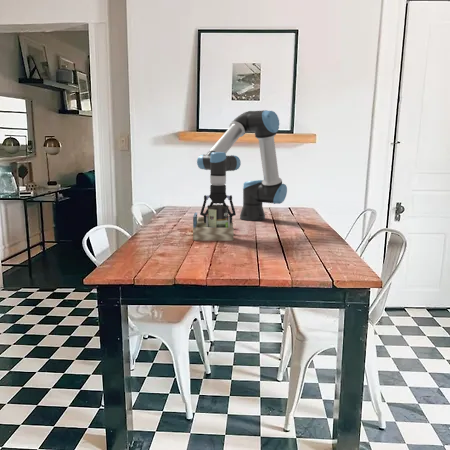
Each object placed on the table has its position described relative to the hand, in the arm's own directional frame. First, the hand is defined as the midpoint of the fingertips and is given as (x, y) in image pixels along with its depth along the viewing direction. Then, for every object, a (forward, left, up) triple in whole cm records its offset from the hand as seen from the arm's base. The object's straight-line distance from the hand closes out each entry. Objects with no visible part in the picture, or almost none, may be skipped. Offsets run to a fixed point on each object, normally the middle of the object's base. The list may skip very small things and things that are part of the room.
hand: (217, 229), depth 230 cm
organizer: (+2, -7, -4) cm, 8 cm away
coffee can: (0, 0, -2) cm, 2 cm away
